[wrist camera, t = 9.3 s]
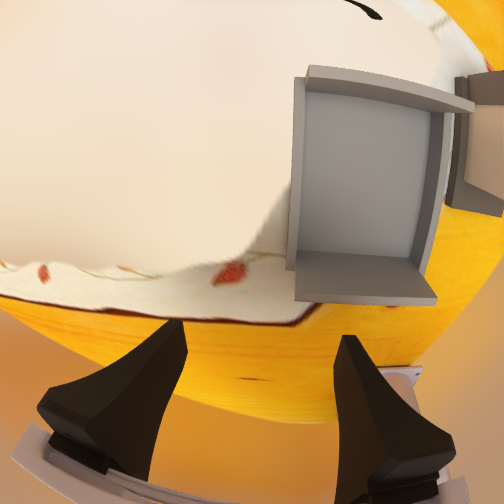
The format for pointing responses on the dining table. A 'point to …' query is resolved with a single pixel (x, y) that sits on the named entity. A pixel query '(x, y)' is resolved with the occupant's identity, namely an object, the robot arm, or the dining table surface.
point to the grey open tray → (366, 186)
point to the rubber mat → (458, 189)
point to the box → (486, 133)
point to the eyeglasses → (367, 10)
